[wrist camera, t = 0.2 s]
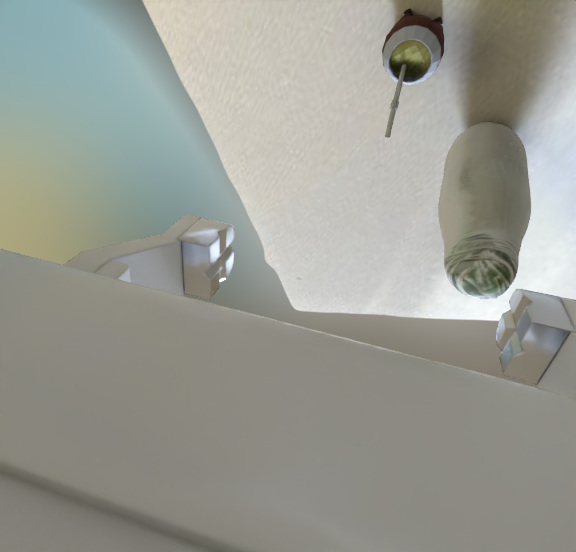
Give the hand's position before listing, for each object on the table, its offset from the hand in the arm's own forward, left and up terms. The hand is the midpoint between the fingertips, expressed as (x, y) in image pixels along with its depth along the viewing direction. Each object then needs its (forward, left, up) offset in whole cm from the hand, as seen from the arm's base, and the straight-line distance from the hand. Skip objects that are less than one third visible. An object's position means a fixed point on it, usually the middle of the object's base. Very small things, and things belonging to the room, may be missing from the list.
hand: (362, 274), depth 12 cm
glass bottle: (+12, +26, -52) cm, 59 cm away
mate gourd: (+11, +8, -52) cm, 53 cm away
